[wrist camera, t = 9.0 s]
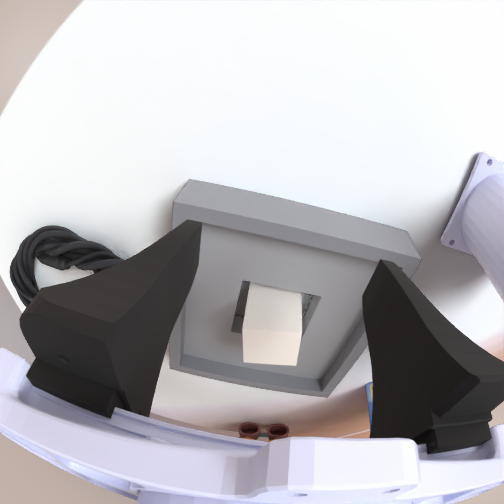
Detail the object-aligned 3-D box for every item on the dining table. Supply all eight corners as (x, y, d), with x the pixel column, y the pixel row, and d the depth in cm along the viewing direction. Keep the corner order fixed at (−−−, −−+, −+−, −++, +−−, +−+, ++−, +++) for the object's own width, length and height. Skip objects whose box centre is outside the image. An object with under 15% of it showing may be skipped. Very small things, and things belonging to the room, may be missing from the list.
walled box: (406, 231, 21) (421, 259, 18) (326, 370, 32) (327, 397, 29) (189, 179, 21) (173, 201, 18) (178, 341, 31) (169, 368, 28)
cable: (25, 288, 31) (6, 312, 27) (17, 193, 23) (-12, 215, 19) (144, 349, 34) (131, 379, 30) (171, 265, 26) (153, 300, 22)
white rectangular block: (301, 279, 25) (302, 332, 20) (296, 314, 27) (296, 365, 23) (250, 276, 25) (242, 328, 21) (251, 311, 27) (243, 362, 23)
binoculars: (296, 415, 43) (297, 453, 33) (292, 457, 43) (291, 497, 33) (235, 411, 44) (223, 448, 34) (236, 454, 44) (225, 492, 34)
